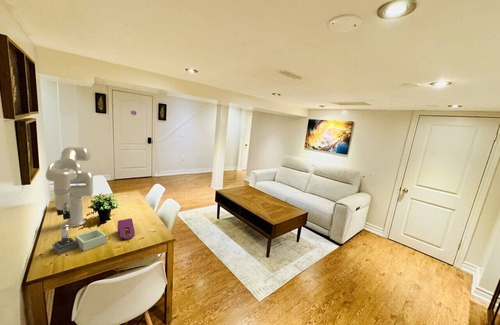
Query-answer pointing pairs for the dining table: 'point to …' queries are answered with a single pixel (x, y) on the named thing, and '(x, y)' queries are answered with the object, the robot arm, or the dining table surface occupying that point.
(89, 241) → the bin
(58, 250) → the socket block
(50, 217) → the dining table surface
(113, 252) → the dining table surface
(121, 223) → the mounting bracket
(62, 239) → the grey rounded piece
